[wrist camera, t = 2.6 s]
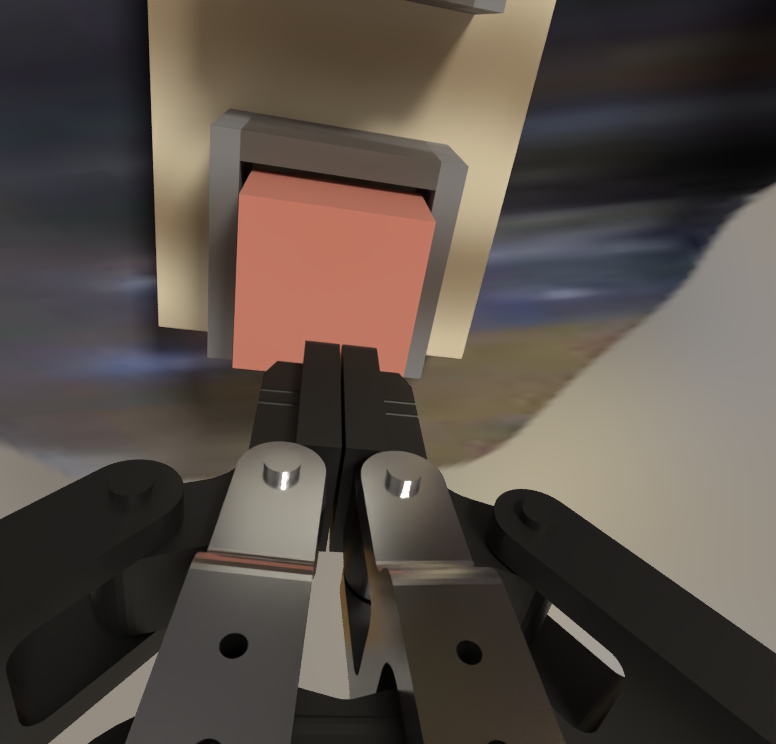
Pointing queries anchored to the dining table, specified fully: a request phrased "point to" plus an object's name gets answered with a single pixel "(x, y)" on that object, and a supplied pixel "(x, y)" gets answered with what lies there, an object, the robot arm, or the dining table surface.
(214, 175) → the key panel
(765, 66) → the dining table surface
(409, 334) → the red key
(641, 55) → the dining table surface
